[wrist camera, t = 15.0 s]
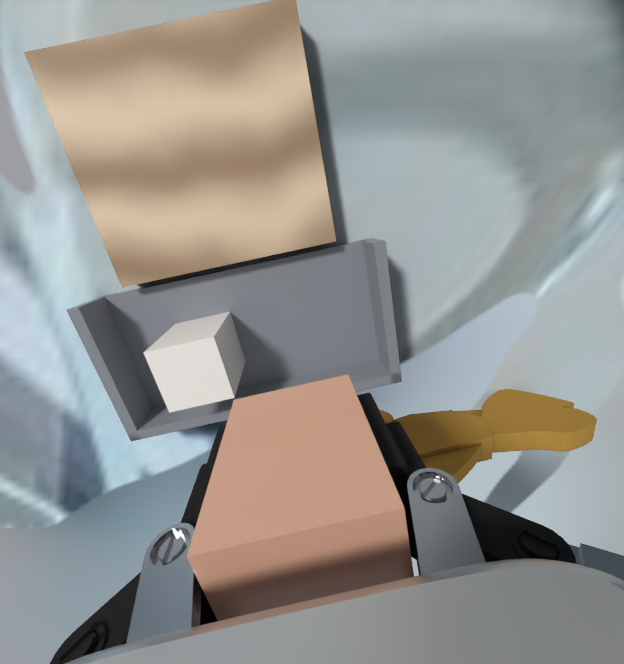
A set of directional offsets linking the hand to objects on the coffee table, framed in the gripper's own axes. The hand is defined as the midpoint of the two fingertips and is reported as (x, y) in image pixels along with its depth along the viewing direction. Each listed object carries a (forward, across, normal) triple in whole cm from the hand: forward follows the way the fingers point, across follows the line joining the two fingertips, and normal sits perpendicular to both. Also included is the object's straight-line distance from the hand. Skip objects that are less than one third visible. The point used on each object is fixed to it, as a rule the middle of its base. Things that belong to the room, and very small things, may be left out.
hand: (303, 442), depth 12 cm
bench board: (+15, +4, -13) cm, 21 cm away
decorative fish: (+16, -12, +12) cm, 23 cm away
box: (+15, +4, 0) cm, 16 cm away
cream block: (+15, +7, 0) cm, 16 cm away
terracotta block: (+1, 0, 0) cm, 1 cm away
